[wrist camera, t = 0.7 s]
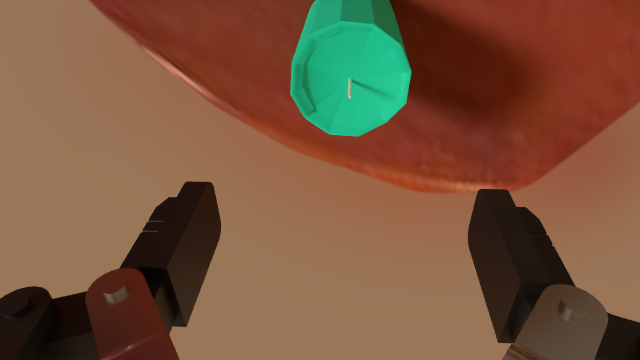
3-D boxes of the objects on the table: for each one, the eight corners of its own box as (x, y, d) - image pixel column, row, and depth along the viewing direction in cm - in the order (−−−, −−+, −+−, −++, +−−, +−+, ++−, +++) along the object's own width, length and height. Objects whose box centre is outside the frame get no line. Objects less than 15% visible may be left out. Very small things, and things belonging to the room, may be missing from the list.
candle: (317, 71, 31) (300, 159, 22) (299, -15, 28) (270, 43, 18) (399, 58, 30) (419, 144, 21) (390, -33, 27) (411, 19, 17)
